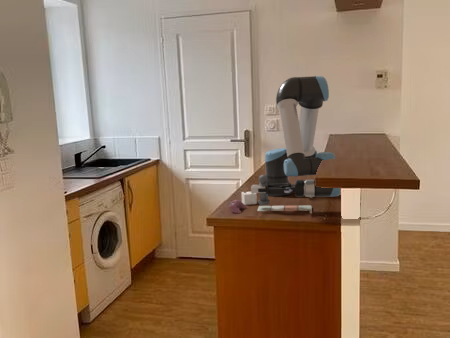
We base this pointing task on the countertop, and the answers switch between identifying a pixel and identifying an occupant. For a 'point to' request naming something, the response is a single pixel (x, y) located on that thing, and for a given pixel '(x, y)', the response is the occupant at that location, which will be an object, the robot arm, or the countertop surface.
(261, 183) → the pawn
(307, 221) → the countertop surface
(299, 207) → the board
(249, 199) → the die
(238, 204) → the video game controller
